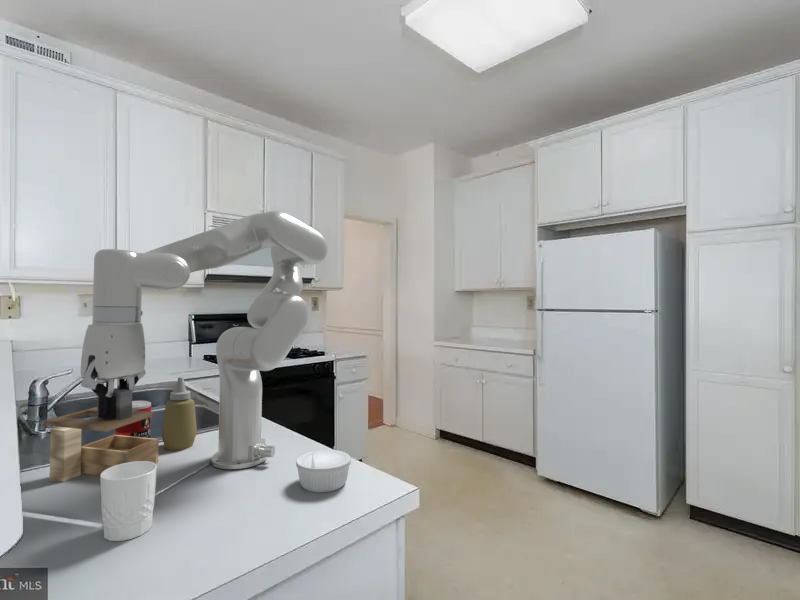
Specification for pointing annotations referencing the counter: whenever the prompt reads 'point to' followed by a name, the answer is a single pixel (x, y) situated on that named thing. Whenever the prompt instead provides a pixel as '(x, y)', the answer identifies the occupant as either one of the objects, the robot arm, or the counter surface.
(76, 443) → the wooden block
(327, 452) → the ramekin
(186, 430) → the squeeze bottle
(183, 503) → the counter surface
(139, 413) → the wooden frame
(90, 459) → the toolbox
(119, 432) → the canned food
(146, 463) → the white cup
